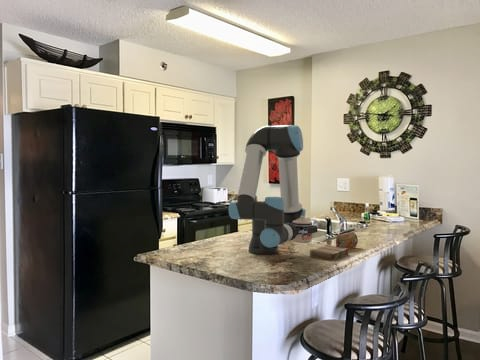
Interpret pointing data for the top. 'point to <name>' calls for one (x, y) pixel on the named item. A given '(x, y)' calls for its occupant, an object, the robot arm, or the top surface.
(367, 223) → the top surface
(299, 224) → the teacup with lid
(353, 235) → the brown flat oval piece
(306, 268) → the top surface
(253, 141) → the robot arm
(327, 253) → the board
